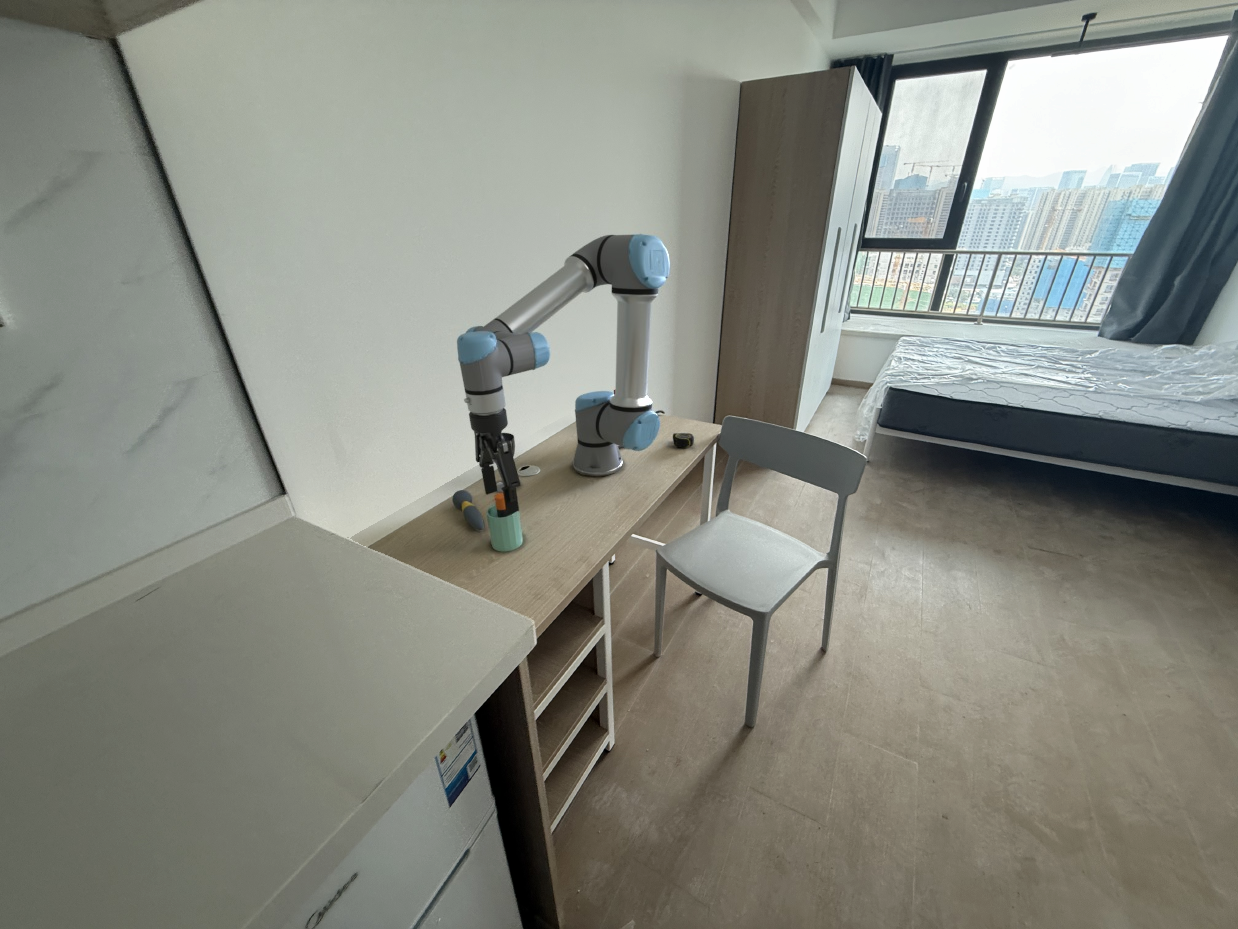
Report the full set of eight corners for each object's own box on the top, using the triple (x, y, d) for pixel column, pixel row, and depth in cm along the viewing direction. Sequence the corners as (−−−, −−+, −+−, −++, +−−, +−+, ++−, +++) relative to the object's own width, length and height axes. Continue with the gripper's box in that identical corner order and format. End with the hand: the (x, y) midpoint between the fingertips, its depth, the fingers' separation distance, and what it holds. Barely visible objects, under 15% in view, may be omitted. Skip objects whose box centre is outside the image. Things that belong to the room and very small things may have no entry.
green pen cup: (514, 530, 119) (510, 498, 115) (528, 543, 114) (524, 511, 110) (486, 541, 115) (481, 508, 111) (499, 555, 110) (494, 522, 106)
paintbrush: (496, 528, 120) (494, 511, 118) (477, 535, 117) (474, 518, 115) (466, 497, 134) (462, 482, 132) (448, 503, 131) (444, 487, 129)
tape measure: (692, 441, 165) (693, 431, 163) (694, 450, 159) (694, 439, 157) (672, 441, 166) (672, 431, 164) (673, 449, 159) (673, 439, 158)
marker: (509, 535, 116) (503, 491, 110) (514, 540, 114) (508, 496, 108) (499, 539, 114) (492, 495, 109) (504, 544, 112) (497, 499, 107)
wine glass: (525, 482, 141) (519, 435, 135) (509, 495, 135) (502, 445, 128) (503, 477, 144) (496, 431, 138) (486, 489, 138) (478, 441, 131)
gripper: (449, 400, 106) (466, 488, 116) (493, 430, 89) (508, 530, 99) (482, 392, 110) (495, 478, 120) (529, 420, 93) (541, 517, 103)
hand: (501, 501), depth 110 cm, fingers open, 10 cm apart
